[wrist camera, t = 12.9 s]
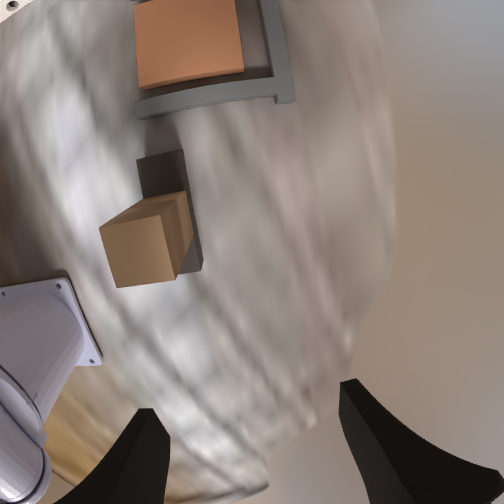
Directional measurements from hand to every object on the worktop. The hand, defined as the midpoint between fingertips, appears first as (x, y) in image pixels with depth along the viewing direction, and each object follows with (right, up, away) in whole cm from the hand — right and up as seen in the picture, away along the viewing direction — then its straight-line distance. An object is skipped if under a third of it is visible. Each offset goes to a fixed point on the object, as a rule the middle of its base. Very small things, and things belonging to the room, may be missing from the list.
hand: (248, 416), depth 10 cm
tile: (-4, +19, +4) cm, 20 cm away
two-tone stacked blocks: (-5, +9, +8) cm, 13 cm away
